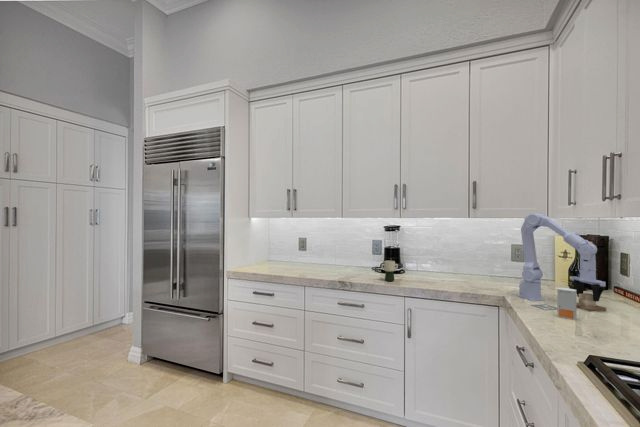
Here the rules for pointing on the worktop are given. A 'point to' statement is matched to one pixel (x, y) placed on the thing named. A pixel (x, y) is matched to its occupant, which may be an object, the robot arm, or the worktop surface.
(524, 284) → the robot arm
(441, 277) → the worktop surface
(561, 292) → the skincare box
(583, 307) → the walnut board
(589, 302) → the birch block
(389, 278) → the character mug
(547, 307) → the slate tile
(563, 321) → the worktop surface
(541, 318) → the worktop surface
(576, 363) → the worktop surface
